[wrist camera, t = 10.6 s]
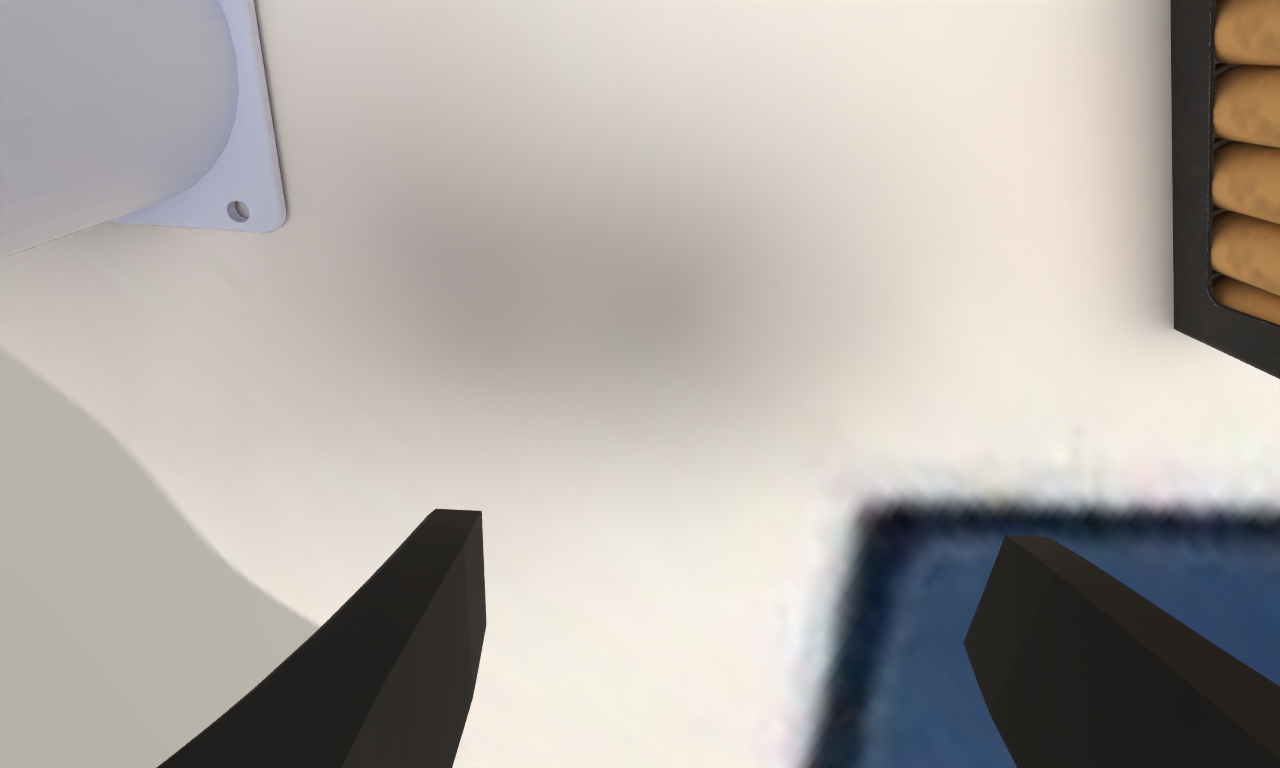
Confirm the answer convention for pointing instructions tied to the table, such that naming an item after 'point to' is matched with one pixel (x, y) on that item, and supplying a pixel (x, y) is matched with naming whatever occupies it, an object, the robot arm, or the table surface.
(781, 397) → the table surface
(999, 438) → the table surface
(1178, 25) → the ammunition clip
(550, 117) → the table surface
